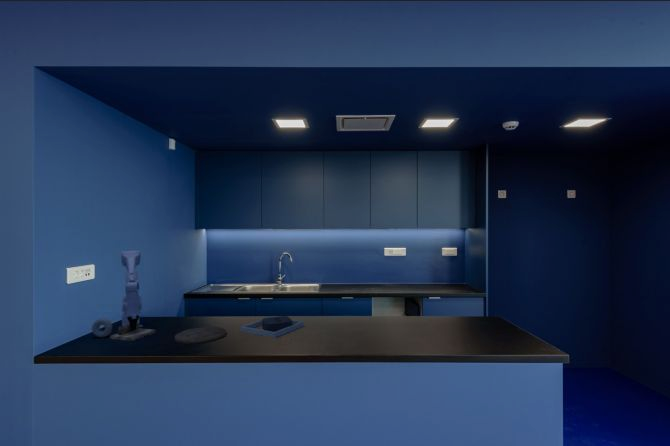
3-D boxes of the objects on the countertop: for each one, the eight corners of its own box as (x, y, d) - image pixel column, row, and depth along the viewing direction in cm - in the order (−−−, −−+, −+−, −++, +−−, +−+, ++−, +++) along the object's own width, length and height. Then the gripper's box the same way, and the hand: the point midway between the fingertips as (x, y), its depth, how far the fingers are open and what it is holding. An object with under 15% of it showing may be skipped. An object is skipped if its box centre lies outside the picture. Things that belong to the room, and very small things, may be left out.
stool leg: (121, 334, 194) (120, 327, 194) (116, 334, 195) (116, 327, 195) (139, 328, 205) (139, 321, 205) (135, 328, 206) (135, 321, 206)
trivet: (235, 335, 195) (235, 332, 195) (189, 348, 176) (188, 344, 176) (211, 327, 212) (211, 324, 212) (166, 338, 193) (166, 334, 193)
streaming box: (293, 330, 201) (293, 321, 201) (266, 334, 195) (266, 324, 195) (286, 324, 214) (286, 315, 214) (261, 327, 209) (261, 318, 209)
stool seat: (109, 338, 194) (109, 330, 194) (133, 330, 208) (133, 322, 208) (132, 340, 189) (132, 332, 189) (155, 332, 203) (155, 324, 203)
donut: (114, 335, 199) (113, 316, 199) (110, 337, 195) (110, 318, 196) (94, 336, 198) (94, 317, 198) (90, 338, 195) (90, 319, 195)
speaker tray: (240, 331, 201) (240, 326, 201) (271, 321, 221) (270, 317, 221) (274, 337, 188) (274, 332, 188) (303, 326, 209) (303, 321, 209)
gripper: (142, 305, 196) (143, 331, 196) (139, 301, 208) (140, 325, 208) (127, 307, 192) (127, 333, 192) (125, 303, 205) (125, 328, 204)
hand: (133, 329), depth 200 cm, fingers closed, pressing on stool leg
